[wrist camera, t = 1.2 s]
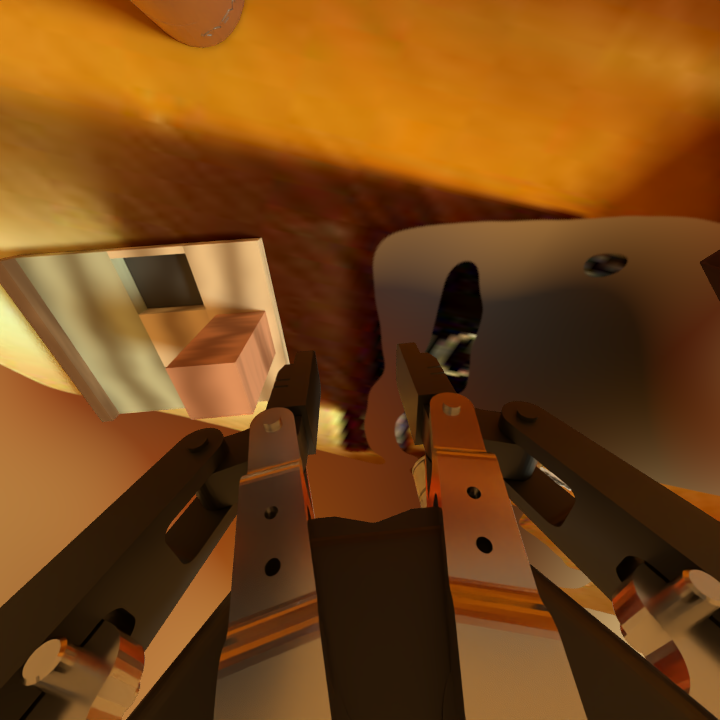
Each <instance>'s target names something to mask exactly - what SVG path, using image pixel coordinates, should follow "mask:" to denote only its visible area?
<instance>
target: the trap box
mask: <svg viewBox="0 0 720 720" xmlns="http://www.w3.org/2000/svg"><path fill="white" fill-rule="evenodd" d="M0 284H1V285H2V286H3V288H4V289H5V290H6V292H7V293H8V294H9V296H10V297H11V298H12V300H13V301H14V303H15V304H16V305H17V307H18V308H19V309H20V311H21V312H22V313H23V315H24V316H25V318H26V319H27V320H28V322H29V323H30V324H31V326H32V327H33V328H34V330H35V331H36V332H37V334H38V335H39V337H40V338H41V339H42V341H43V342H44V343H45V345H46V346H47V347H48V349H49V350H50V352H51V353H52V354H53V356H54V357H55V358H56V360H57V361H58V362H59V364H60V365H61V366H62V368H63V369H64V371H65V372H66V373H67V375H68V376H69V377H70V379H71V380H72V381H73V383H74V384H75V386H76V387H77V388H78V390H79V391H80V392H81V394H82V395H83V396H84V398H85V399H86V401H87V402H88V403H89V405H90V406H91V407H92V409H93V410H94V411H95V413H96V414H97V415H98V417H99V418H100V420H101V421H102V422H106V421H113V420H114V419H115V418H116V417H117V416H118V415H119V414H121V413H132V412H144V411H156V410H168V409H179V408H185V407H184V405H183V403H182V401H181V399H180V397H179V395H178V393H177V391H176V389H175V387H174V385H173V383H172V381H171V379H170V377H169V375H168V373H167V371H166V369H165V368H166V367H167V366H168V365H169V364H170V363H171V362H172V361H173V360H174V359H175V358H176V357H177V355H178V354H179V353H180V352H181V351H182V350H183V349H184V348H185V347H186V346H187V345H188V344H189V343H190V342H191V341H192V340H193V339H194V338H195V336H196V335H197V334H198V333H199V332H200V331H201V330H202V329H203V328H204V327H205V326H206V325H207V324H208V323H209V322H210V321H211V320H212V319H213V317H214V316H215V315H219V314H232V313H244V312H257V311H265V312H266V316H267V320H268V324H269V328H270V332H271V336H272V340H273V344H274V348H275V352H276V354H275V356H274V359H273V362H272V364H271V367H270V370H269V372H268V375H267V378H266V381H265V383H264V386H263V389H262V391H261V394H260V397H259V399H258V402H259V401H269V398H270V395H271V392H272V389H273V386H274V383H275V379H276V376H277V373H278V371H279V370H280V369H281V368H282V367H283V366H284V365H285V364H290V363H289V358H288V354H287V349H286V345H285V340H284V336H283V331H282V327H281V322H280V318H279V313H278V309H277V304H276V300H275V296H274V291H273V287H272V282H271V278H270V273H269V269H268V264H267V260H266V255H265V251H264V246H263V242H262V238H251V239H237V240H223V241H209V242H195V243H181V244H167V245H154V246H140V247H126V248H112V249H98V250H84V251H70V252H56V253H42V254H28V255H17V256H12V257H7V258H3V259H0ZM199 304H202V305H199ZM186 305H189V306H186ZM173 306H176V307H173ZM160 307H164V308H160ZM148 308H151V309H148Z"/></svg>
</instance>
